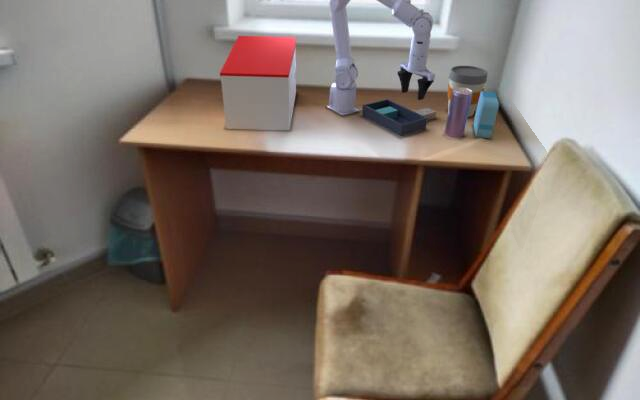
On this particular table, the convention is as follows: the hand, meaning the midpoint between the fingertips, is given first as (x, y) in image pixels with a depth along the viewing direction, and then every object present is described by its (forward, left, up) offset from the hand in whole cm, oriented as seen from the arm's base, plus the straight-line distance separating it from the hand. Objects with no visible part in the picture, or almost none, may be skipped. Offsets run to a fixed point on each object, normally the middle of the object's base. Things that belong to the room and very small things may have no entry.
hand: (412, 95), depth 147 cm
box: (0, -7, -9) cm, 11 cm away
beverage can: (+17, +3, -9) cm, 20 cm away
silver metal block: (+3, +4, -9) cm, 10 cm away
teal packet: (-4, -7, -8) cm, 12 cm away
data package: (+20, +13, -9) cm, 26 cm away
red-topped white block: (-34, -39, -9) cm, 52 cm away
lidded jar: (+5, +20, -9) cm, 23 cm away
